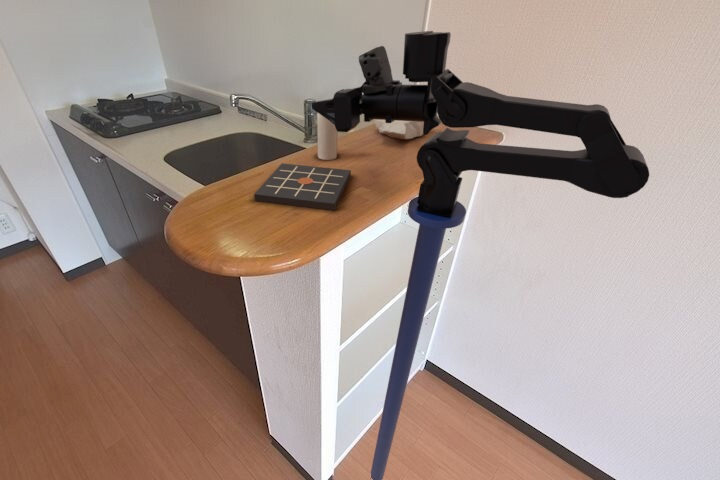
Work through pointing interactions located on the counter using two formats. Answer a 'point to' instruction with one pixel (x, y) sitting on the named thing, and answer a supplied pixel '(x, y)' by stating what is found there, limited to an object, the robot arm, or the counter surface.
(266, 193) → the game board
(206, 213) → the counter surface
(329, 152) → the white rounded cylinder
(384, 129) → the rock
